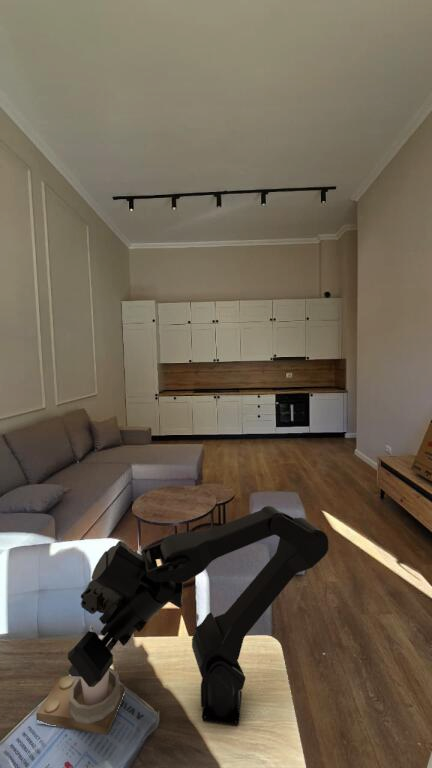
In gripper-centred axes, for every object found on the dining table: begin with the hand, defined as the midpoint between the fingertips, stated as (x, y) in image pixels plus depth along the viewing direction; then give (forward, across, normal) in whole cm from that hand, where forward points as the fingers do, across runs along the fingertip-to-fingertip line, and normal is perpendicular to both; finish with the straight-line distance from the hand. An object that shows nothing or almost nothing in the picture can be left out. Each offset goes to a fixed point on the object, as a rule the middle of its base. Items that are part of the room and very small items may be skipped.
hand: (87, 652), depth 64 cm
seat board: (+8, 0, +7) cm, 11 cm away
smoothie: (+5, 0, +7) cm, 9 cm away
